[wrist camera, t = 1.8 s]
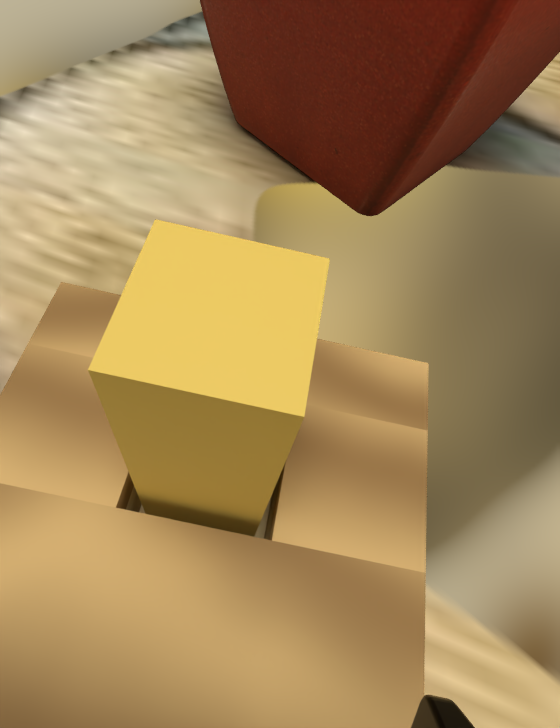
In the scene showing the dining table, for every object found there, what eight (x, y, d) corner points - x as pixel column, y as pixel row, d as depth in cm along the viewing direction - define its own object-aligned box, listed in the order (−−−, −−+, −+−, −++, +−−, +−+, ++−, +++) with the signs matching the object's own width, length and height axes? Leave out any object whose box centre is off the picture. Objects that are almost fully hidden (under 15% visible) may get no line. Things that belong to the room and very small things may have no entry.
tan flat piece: (342, 1183, 12) (413, 1453, 8) (-310, 1066, 12) (-588, 1287, 8) (388, 415, 24) (428, 363, 20) (56, 342, 24) (23, 273, 19)
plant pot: (528, 155, 37) (732, -159, 23) (380, 281, 29) (558, -97, 14) (339, 39, 42) (408, -277, 28) (165, 116, 34) (137, -283, 19)
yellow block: (250, 545, 19) (304, 416, 9) (149, 524, 19) (88, 369, 9) (269, 450, 21) (330, 258, 11) (178, 430, 21) (155, 219, 11)
